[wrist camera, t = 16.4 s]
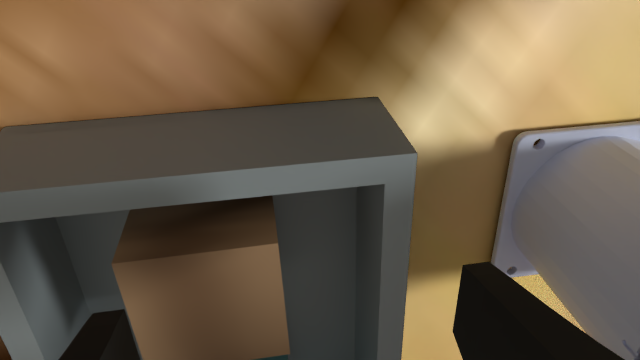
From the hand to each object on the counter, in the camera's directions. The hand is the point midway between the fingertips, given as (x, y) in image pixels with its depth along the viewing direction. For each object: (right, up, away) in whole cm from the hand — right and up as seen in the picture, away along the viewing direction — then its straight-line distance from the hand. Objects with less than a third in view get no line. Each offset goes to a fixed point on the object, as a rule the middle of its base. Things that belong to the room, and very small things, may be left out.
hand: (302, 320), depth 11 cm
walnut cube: (-4, +1, +10) cm, 11 cm away
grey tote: (-4, -2, +13) cm, 13 cm away
